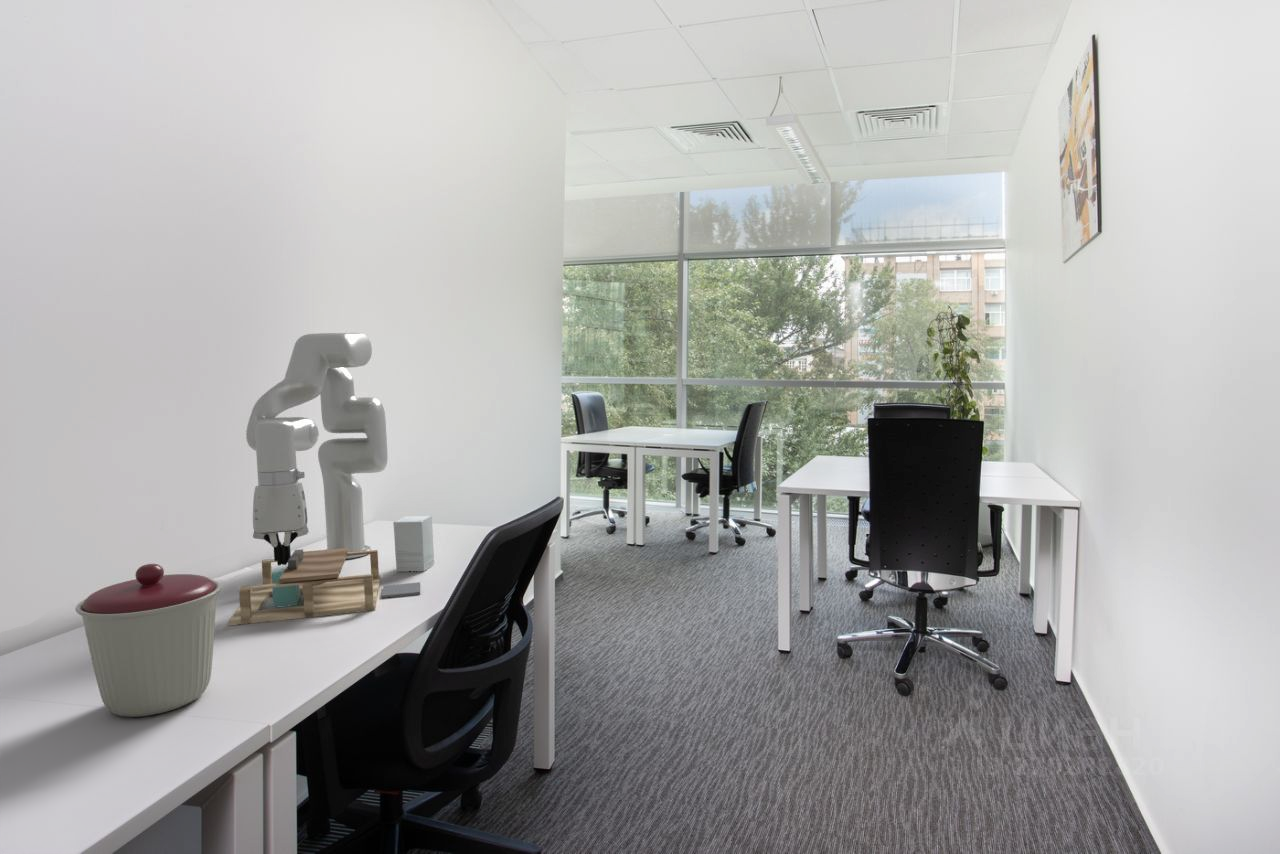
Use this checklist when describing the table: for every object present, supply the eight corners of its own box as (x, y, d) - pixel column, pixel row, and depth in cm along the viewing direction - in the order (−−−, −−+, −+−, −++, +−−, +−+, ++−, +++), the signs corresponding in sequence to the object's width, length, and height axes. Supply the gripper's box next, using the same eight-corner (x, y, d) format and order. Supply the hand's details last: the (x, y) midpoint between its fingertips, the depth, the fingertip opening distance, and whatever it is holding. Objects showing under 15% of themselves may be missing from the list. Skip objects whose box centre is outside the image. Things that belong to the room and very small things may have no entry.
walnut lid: (297, 555, 171) (296, 543, 171) (348, 551, 174) (347, 539, 174) (279, 583, 149) (278, 569, 148) (338, 577, 152) (337, 563, 152)
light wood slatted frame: (254, 591, 169) (252, 560, 169) (380, 579, 177) (378, 549, 176) (229, 625, 146) (227, 589, 146) (375, 610, 154) (373, 575, 154)
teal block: (277, 601, 162) (275, 569, 161) (299, 599, 163) (298, 567, 163) (273, 607, 157) (271, 575, 157) (296, 605, 159) (294, 572, 158)
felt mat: (383, 588, 170) (383, 585, 170) (420, 584, 172) (419, 582, 172) (381, 598, 162) (381, 595, 162) (420, 594, 164) (420, 591, 164)
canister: (54, 719, 107) (42, 575, 106) (173, 671, 124) (164, 546, 122) (142, 739, 101) (130, 586, 99) (254, 685, 118) (246, 554, 116)
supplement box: (435, 564, 190) (433, 515, 189) (424, 572, 183) (421, 521, 182) (407, 564, 191) (405, 515, 190) (395, 572, 184) (392, 521, 183)
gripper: (318, 474, 164) (322, 556, 165) (242, 478, 160) (248, 562, 161) (313, 478, 157) (318, 564, 158) (234, 483, 152) (240, 571, 154)
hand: (282, 563), depth 160 cm, fingers closed
